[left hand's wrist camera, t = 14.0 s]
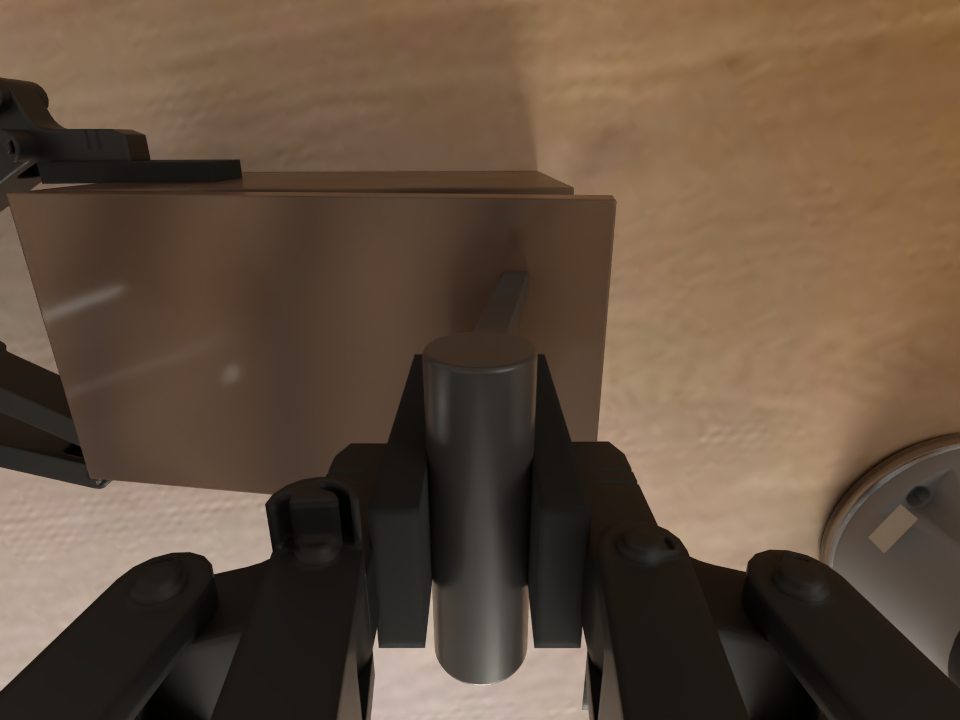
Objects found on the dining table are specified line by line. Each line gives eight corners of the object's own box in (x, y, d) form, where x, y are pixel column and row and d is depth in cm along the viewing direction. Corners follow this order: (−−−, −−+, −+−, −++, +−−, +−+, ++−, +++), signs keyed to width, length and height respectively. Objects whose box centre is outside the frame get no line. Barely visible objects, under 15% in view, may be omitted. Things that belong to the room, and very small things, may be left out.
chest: (538, 170, 29) (574, 187, 18) (532, 354, 32) (559, 456, 22) (199, 172, 29) (40, 189, 18) (231, 356, 32) (114, 459, 22)
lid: (613, 195, 16) (660, 254, 7) (589, 500, 19) (602, 770, 11) (42, 189, 18) (-400, 229, 10) (115, 460, 22) (-163, 654, 13)
